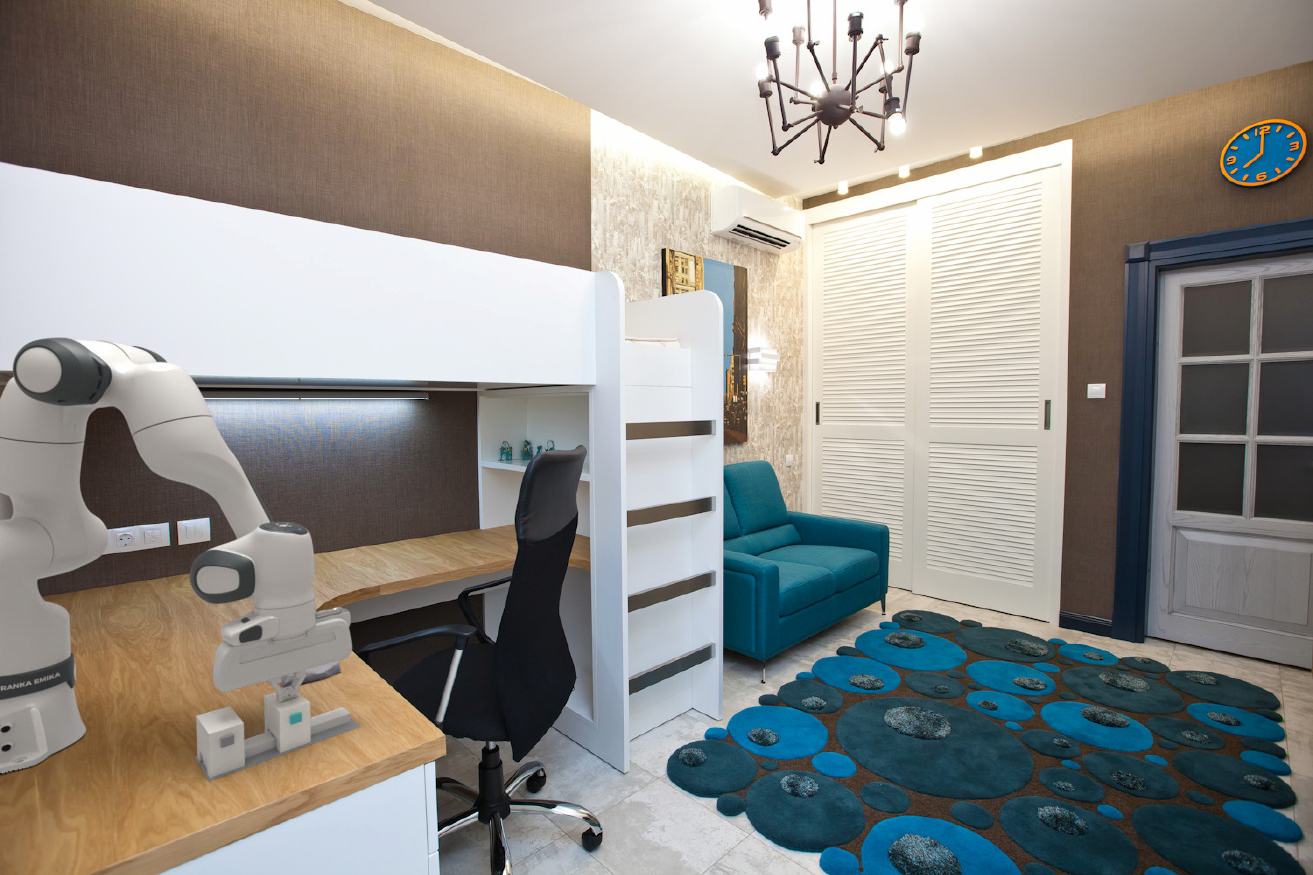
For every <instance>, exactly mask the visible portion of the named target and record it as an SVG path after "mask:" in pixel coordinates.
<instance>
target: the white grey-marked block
mask: <svg viewBox="0 0 1313 875" xmlns="http://www.w3.org/2000/svg"><path fill="white" fill-rule="evenodd" d="M195 717H196V718H195V720H196V752H197V753H196V754H197V755H196V756H197V758H198V759H199V761H203V757H204V758H205V760H206V762H207V774H208V776H209V778H213V777H215V776H218V775H221V774H224V773H226V772H229V771H232V770H235V769H238V768H240V767H243V766H245V750H244V739H245V723H244V721H243V720H242V719H241V718H240V716H239V714H237V713H236V711H235V710H234V709H233V708H232V707H231V705H229V706H226V707H225V706H224V707H221V708H218V709H214V710H211V711H208V712H204V713H202V714H198V715H196V716H195Z"/></svg>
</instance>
